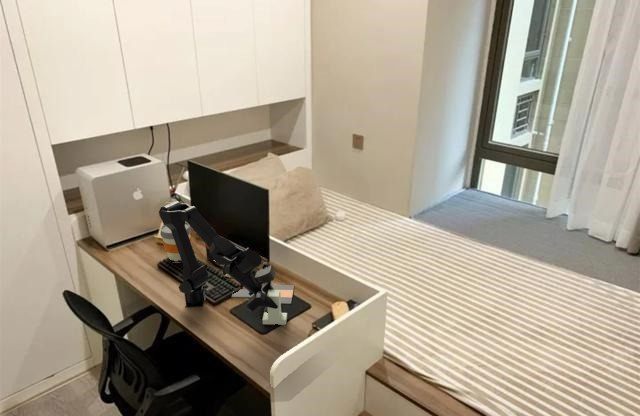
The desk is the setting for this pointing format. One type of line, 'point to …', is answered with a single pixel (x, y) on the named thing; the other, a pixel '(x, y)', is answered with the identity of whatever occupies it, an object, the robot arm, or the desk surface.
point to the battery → (208, 253)
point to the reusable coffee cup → (172, 242)
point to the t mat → (285, 290)
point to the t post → (275, 310)
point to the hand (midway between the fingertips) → (278, 303)
